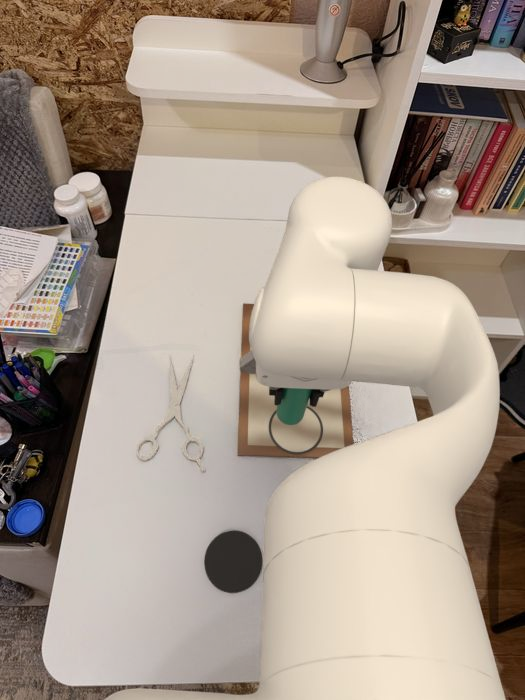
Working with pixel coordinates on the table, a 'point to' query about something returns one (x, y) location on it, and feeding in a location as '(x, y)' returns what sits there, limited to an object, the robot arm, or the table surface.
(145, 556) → the table surface
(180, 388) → the scissors
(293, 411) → the cylinder
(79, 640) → the table surface
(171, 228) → the table surface
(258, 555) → the coaster
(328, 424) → the board
